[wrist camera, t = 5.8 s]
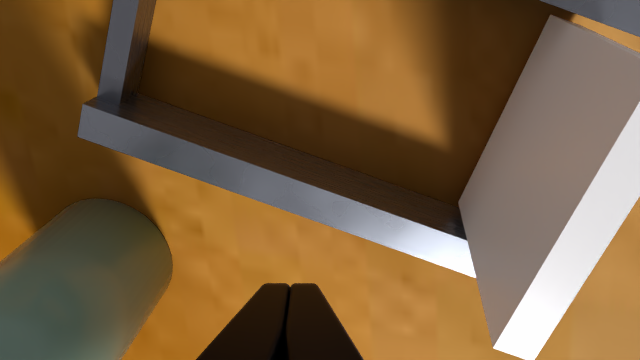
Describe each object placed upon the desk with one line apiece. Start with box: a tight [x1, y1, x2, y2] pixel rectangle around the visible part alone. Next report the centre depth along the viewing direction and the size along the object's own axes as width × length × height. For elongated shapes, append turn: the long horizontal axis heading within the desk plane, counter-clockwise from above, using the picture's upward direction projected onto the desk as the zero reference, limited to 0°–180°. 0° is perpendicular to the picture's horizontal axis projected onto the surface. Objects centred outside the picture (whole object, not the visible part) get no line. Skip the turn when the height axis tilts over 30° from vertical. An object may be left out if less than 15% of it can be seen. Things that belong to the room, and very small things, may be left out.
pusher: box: [458, 14, 640, 360], centre depth 16 cm, size 1×7×8 cm, turn 162°
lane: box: [78, 0, 640, 278], centre depth 18 cm, size 16×10×2 cm, turn 72°
